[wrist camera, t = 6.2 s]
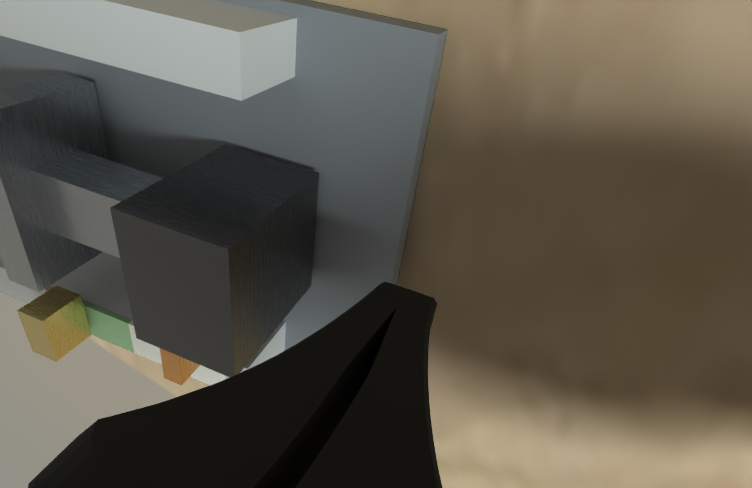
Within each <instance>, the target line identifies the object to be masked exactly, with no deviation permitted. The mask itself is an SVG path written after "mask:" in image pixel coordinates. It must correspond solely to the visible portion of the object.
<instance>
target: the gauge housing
mask: <svg viewBox="0 0 752 488" xmlns="http://www.w3.org/2000/svg"><path fill="white" fill-rule="evenodd" d="M447 30H448V29H443V28H438V27H433V26H429V25H424V24H419V23H415V22H410V21H405V20H400V19H396V18H391V17H386V16H381V15H377V14H372V13H367V12H362V11H358V10H353V9H348V8H343V7H339V6H334V5H329V4H324V3H320V2H315V1H310V0H0V89H1V88H6V87H10V86H14V85H18V84H22V83H26V82H30V81H34V80H38V79H42V78H46V77H50V76H54V75H59V74H66V75H69V76H73V77H76V78H80V79H83V80H87V81H90V82H94V84H95V89H96V95H97V100H98V105H99V110H100V115H101V121H102V126H103V131H104V136H105V141H106V147H107V152H108V157H109V160H110V161H113V162H116V163H119V164H122V165H125V166H128V167H132V168H135V169H138V170H141V171H144V172H147V173H150V174H153V175H156V176H159V177H162V178H165V177H167V176H169V175H171V174H172V173H174V172H176V171H178V170H180V169H182V168H183V167H185V166H187V165H189V164H191V163H193V162H194V161H196V160H198V159H200V158H202V157H203V156H205V155H207V154H209V153H211V152H213V151H214V150H216V149H218V148H220V147H222V146H224V145H228V146H231V147H235V148H238V149H241V150H245V151H248V152H252V153H255V154H258V155H262V156H265V157H268V158H272V159H275V160H278V161H282V162H285V163H289V164H292V165H295V166H299V167H302V168H305V169H309V170H312V171H315V172H319V186H318V200H317V213H316V227H315V241H314V255H313V268H312V282H311V287H310V288H309V289H308V290H307V291H306V293H305V294H304V295H303V296H302V298H301V299H300V300H299V301H298V302H297V304H296V305H295V306H294V307H293V309H292V310H291V311H290V312H289V313H288V315H287V316H286V317H285V318H284V320H283V321H282V322H281V323H280V324H279V326H278V327H277V328H276V329H275V331H274V332H273V333H272V334H271V335H270V337H269V338H268V339H267V340H266V342H265V343H264V344H263V345H262V346H261V348H260V349H259V350H258V351H257V353H256V354H255V355H254V356H253V357H252V359H251V360H250V361H249V362H248V364H247V365H246V366H245V367H244V368H243V370H242V371H241V372H243V371H245V370H247V369H250V368H252V367H254V366H256V365H258V364H260V363H262V362H264V361H266V360H268V359H270V358H272V357H274V356H276V355H278V354H280V353H282V352H283V351H285V350H287V349H289V348H290V347H292V346H294V345H296V344H297V343H299V342H300V341H302V340H304V339H305V338H307V337H308V336H310V335H312V334H313V333H315V332H317V331H318V330H320V329H321V328H323V327H324V326H326V325H327V324H329V323H330V322H331V321H333V320H334V319H336V318H337V317H339V316H340V315H341V314H343V313H344V312H346V311H347V310H348V309H350V308H351V307H352V306H354V305H355V304H356V303H357V302H359V301H360V300H361V299H363V298H364V297H365V296H366V295H368V294H369V293H370V292H371V291H372V290H374V289H375V288H376V287H377V286H378V285H379V284H381V283H383V282H388V283H391V284H394V285H397V280H398V275H399V270H400V265H401V260H402V255H403V250H404V245H405V240H406V235H407V230H408V225H409V220H410V215H411V210H412V205H413V200H414V195H415V190H416V185H417V180H418V175H419V170H420V165H421V160H422V155H423V150H424V145H425V140H426V135H427V130H428V125H429V120H430V115H431V110H432V105H433V100H434V95H435V90H436V85H437V80H438V75H439V70H440V65H441V60H442V55H443V50H444V45H445V40H446V35H447ZM56 285H58V286H60V287H63V288H65V289H67V290H70V291H72V292H75V293H77V294H80V295H81V298H82V301H83V305H84V309H85V312H86V316H87V320H88V323H89V327H90V330H91V334H92V335H94V336H96V337H99V338H101V339H103V340H106V341H108V342H110V343H113V344H115V345H117V346H120V347H122V348H124V349H127V350H129V351H131V352H134V353H136V354H138V355H141V356H143V357H145V358H148V359H150V360H152V361H155V362H157V363H159V364H162V361H161V355H160V349H159V347H156V346H154V345H151V344H149V343H147V342H144V341H142V340H139V339H137V338H136V334H135V329H134V324H133V319H132V314H131V309H130V304H129V299H128V294H127V289H126V285H125V280H124V275H123V270H122V265H121V260H120V258H118V257H116V256H113V255H110V254H108V253H105V252H102V253H101V254H99V255H98V256H96V257H94V258H93V259H91V260H90V261H88V262H86V263H85V264H83V265H82V266H80V267H79V268H77V269H75V270H74V271H72V272H71V273H69V274H67V275H66V276H64V277H63V278H61V279H60V280H58V281H56V282H55V283H53V284H52V285H50V286H48V287H47V288H45V289H44V290H42V291H41V292H37V291H34V290H32V289H30V288H27V287H25V286H22V285H20V284H18V283H15V282H13V281H10V280H9V278H8V276H7V273H6V270H5V268H4V265H3V262H2V260H1V257H0V292H3V293H5V294H8V295H10V296H12V297H15V298H17V299H19V300H22V301H24V302H26V303H30V302H31V301H33V300H34V299H36V298H38V297H39V296H41V295H42V294H44V293H45V292H47V291H49V290H50V289H52V288H53V287H55V286H56ZM241 372H240V373H241ZM190 377H192V378H194V379H197V380H199V381H201V382H204V383H206V384H208V385H213V384H215V383H218V382H220V381H223V380H225V379H227V378H230V377H228V376H225V375H223V374H220V373H218V372H216V371H213V370H211V369H209V368H206V367H204V366H201V365H200V366H199V367H198V368H197V369H196V370H195V371H194V372H193V374H192V375H191V376H190Z"/></svg>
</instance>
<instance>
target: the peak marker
mask: <svg viewBox="0 0 752 488" xmlns="http://www.w3.org/2000/svg"><path fill="white" fill-rule="evenodd" d="M18 314H19V316H20V319H21V321H22V324H23V326H24V329H25V332H26V335H27V337H28V340H29V343H30V345H31V348H32V350H33V351H34V352H36V353H38V354H40V355H43V356H45V357H47V358H49V359H51V360H54V361H56V362H57V361H58V360H59V359H61V358H62V357H63V356H64V355H66V354H67V353H68V352H70V351H71V350H72V349H73V348H74V347H76V346H77V345H78V344H80V343H81V342H82V341H84V340H85V339H86V338H87V337H89V336H90V335H91V330H90V327H89V323H88V320H87V316H86V312H85V309H84V305H83V301H82V298H81V295H80V294H77V293H75V292H72V291H70V290H67V289H65V288H63V287H60V286H58V285H56V286H55V287H53V288H52V289H50V290H49V291H47V292H45V293H44V294H42V295H41V296H39V297H38V298H36V299H34V300H33V301H31V302H30V303H28V304H27V305H25V306H24V307H22V308H21V309H19V310H18Z"/></svg>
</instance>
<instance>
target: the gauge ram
mask: <svg viewBox="0 0 752 488" xmlns="http://www.w3.org/2000/svg"><path fill="white" fill-rule="evenodd" d="M318 186H319V172H315V171H312V170H309V169H305V168H302V167H299V166H295V165H292V164H289V163H285V162H282V161H278V160H275V159H272V158H268V157H265V156H262V155H258V154H255V153H252V152H248V151H245V150H241V149H238V148H235V147H231V146H228V145H224V146H222V147H220V148H218V149H216V150H214V151H213V152H211V153H209V154H207V155H205V156H203V157H202V158H200V159H198V160H196V161H194V162H193V163H191V164H189V165H187V166H185V167H183V168H182V169H180V170H178V171H176V172H174V173H172V174H171V175H169V176H167V177H165V178H162V177H159V176H156V175H153V174H150V173H147V172H144V171H141V170H138V169H135V168H132V167H128V166H125V165H122V164H119V163H116V162H113V161H110V160H109V157H108V152H107V147H106V141H105V136H104V131H103V126H102V121H101V115H100V110H99V105H98V100H97V95H96V89H95V84H94V82H90V81H87V80H83V79H80V78H76V77H73V76H69V75H66V74H59V75H54V76H50V77H46V78H42V79H38V80H34V81H30V82H26V83H22V84H18V85H14V86H10V87H6V88H1V89H0V257H1V260H2V262H3V265H4V268H5V270H6V273H7V276H8V278H9V280H10V281H13V282H15V283H18V284H20V285H22V286H25V287H27V288H30V289H32V290H34V291H37V292H41V291H42V290H44V289H45V288H47V287H48V286H50V285H52V284H53V283H55V282H56V281H58V280H60V279H61V278H63V277H64V276H66V275H67V274H69V273H71V272H72V271H74V270H75V269H77V268H79V267H80V266H82V265H83V264H85V263H86V262H88V261H90V260H91V259H93V258H94V257H96V256H98V255H99V254H101V253H102V252H105V253H108V254H110V255H113V256H116V257H118V258H120V260H121V265H122V270H123V275H124V280H125V285H126V289H127V294H128V299H129V304H130V309H131V314H132V319H133V324H134V329H135V334H136V338H137V339H139V340H142V341H144V342H147V343H149V344H151V345H154V346H156V347H159V349H160V355H161V361H162V366H163V372H164V378H166V379H168V380H170V381H173V382H175V383H177V384H180V385H182V384H183V383H184V382H185V381H186V380H187V379H188V378H189V377H190V376H191V375H192V374H193V372H194V371H195V370H196V369H197V368H198V367H199V366H200V365H201V366H204V367H206V368H209V369H211V370H213V371H216V372H218V373H220V374H223V375H225V376H228V377H232V376H234V375H236V374H239V373H240V372H241V371H242V370H243V368H244V367H245V366H246V365H247V364H248V362H249V361H250V360H251V359H252V357H253V356H254V355H255V354H256V353H257V351H258V350H259V349H260V348H261V346H262V345H263V344H264V343H265V342H266V340H267V339H268V338H269V337H270V335H271V334H272V333H273V332H274V331H275V329H276V328H277V327H278V326H279V324H280V323H281V322H282V321H283V320H284V318H285V317H286V316H287V315H288V313H289V312H290V311H291V310H292V309H293V307H294V306H295V305H296V304H297V302H298V301H299V300H300V299H301V298H302V296H303V295H304V294H305V293H306V291H307V290H308V289H309V288H310V287H311V282H312V268H313V255H314V241H315V227H316V213H317V200H318Z"/></svg>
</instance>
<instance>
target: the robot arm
mask: <svg viewBox="0 0 752 488" xmlns="http://www.w3.org/2000/svg"><path fill="white" fill-rule="evenodd" d="M436 306H437V303H436V301H435V299H434V298H432V297H429V296H426V295H423V294H420V293H418V292H415V291H412V290H409V289H406V288H403V287H400V286H397V285H394V284H391V283H388V282H383V283H381V284H379V285H378V286H377V287H376V288H375V289H374V290H372V291H371V292H370V293H369V294H368V295H366V296H365V297H364V298H363V299H361V300H360V301H359V302H357V303H356V304H355V305H354V306H352V307H351V308H350V309H348V310H347V311H346V312H344V313H343V314H341V315H340V316H339V317H337V318H336V319H334V320H333V321H331V322H330V323H329V324H327V325H326V326H324V327H323V328H321V329H320V330H318V331H317V332H315V333H313V334H312V335H310V336H308V337H307V338H305V339H304V340H302V341H300V342H299V343H297V344H296V345H294V346H292V347H290V348H289V349H287V350H285V351H283V352H282V353H280V354H278V355H276V356H274V357H272V358H270V359H268V360H266V361H264V362H262V363H260V364H258V365H256V366H254V367H252V368H250V369H247V370H245V371H243V372H241V373H239V374H236V375H234V376H232V377H230V378H227V379H225V380H223V381H220V382H218V383H215V384H213V385H210V386H207V387H204V388H202V389H199V390H196V391H193V392H190V393H188V394H185V395H182V396H179V397H176V398H174V399H171V400H168V401H165V402H161V403H158V404H155V405H151V406H147V407H144V408H140V409H136V410H133V411H129V412H125V413H121V414H118V415H114V416H111V417H106V418H102V419H99V420H97V421H96V422H95V423H94V424H93V425H91V426H90V427H89V428H88V429H86V430H85V431H84V432H83V433H82V434H80V435H79V436H78V437H77V438H76V439H75V440H74V441H73V442H71V443H70V444H69V445H68V446H67V447H66V448H65V449H64V450H63V451H62V452H61V453H60V454H59V455H58V456H57V457H56V458H55V459H54V460H53V461H52V462H51V463H50V464H49V465H48V466H47V467H45V468H44V469H43V470H42V471H41V472H40V473H39V474H38V475H37V476H36V477H35V478H34V479H33V480H32V481H31V482H30V483H29V487H28V488H442V484H441V480H440V475H439V470H438V466H437V460H436V454H435V447H434V441H433V434H432V426H431V417H430V407H429V391H428V345H429V334H430V328H431V324H432V321H433V317H434V313H435V310H436Z"/></svg>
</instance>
